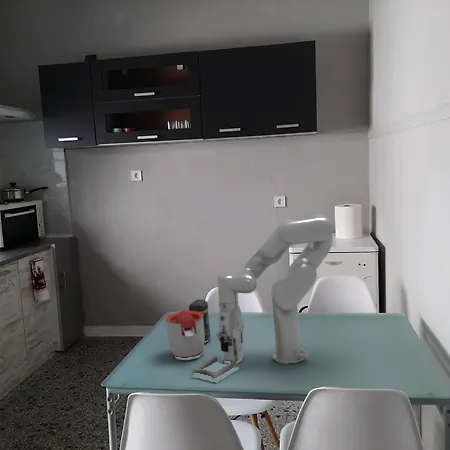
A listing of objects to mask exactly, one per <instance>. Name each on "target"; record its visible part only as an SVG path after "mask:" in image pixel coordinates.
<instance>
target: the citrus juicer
mask: <svg viewBox="0 0 450 450" xmlns="http://www.w3.org/2000/svg"><path fill="white" fill-rule="evenodd" d="M203 316H204V315H203V314H202V313H201V312H197V311H189V310H187V309H182V310H181V311H178V312H174V313H172V314H168V316H166V317H165V321H166V329H167V338H168V339H167V340H168V346H169V348H170V351H171V354H172V356H173V355H174V356H176V357H181V358H188V357H195V356H198V355H200V354H201V353H202V352H203V353H204V349H205V344H204V343H205V333H204V322H203ZM203 353H202V354H203ZM174 356H173V357H174Z"/></svg>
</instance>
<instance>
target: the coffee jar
mask: <svg viewBox="0 0 450 450" xmlns="http://www.w3.org/2000/svg"><path fill="white" fill-rule="evenodd" d="M188 311H197V312H201V313H202V314H203V315H204V316H203V322H204V333H205V341H207V340H209V338H210V336H211V329H210V328H211V327H210V318H209V303H208V301H207V300H206V299H195V300H194V301H192V302H191V303H190V304H189V306H188ZM210 339H211V338H210ZM209 341H210V340H209Z"/></svg>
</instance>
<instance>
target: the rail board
mask: <svg viewBox="0 0 450 450" xmlns="http://www.w3.org/2000/svg"><path fill="white" fill-rule="evenodd" d="M217 361H218V362H219V358H218V356H214V357H212V358H211V359H209V360H208V361H206V362H205V363H203V364H201V365H200V366H197V367H196V368H194V369H193V370H192V374H193V373H200V374H204V375H208V376H211V377H212V378H213V379H215V378H217V377H218V376H220V375H222V374H224V373H225V372H227V371H229V370H230V369H232V368H234V367H235V366H238V364H237V363H236V361H233V362H231V363H230V364H228V365H227V366H225V367H223V368H222V369H220V370H219V371H217V372H211V371H207V370H203V369H204V368H206V367H208V366H210V365H212V364H213V363H215V362H217Z"/></svg>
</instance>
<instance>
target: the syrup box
mask: <svg viewBox="0 0 450 450" xmlns="http://www.w3.org/2000/svg"><path fill="white" fill-rule="evenodd" d="M224 334H226V333H224ZM223 338H224V339H225V336H223ZM227 342H228V350H229V351H228V352H224V351H223V361H224V360H225V361H230V362H233V361H236V362H238V361H239V360H240V359H242V358H244V357H243V345H242V344H243V343H242V342H241V331H240V332H238V329H237V327H236V328H235V329H233V336H231V337H229V336H228V339H227Z"/></svg>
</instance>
